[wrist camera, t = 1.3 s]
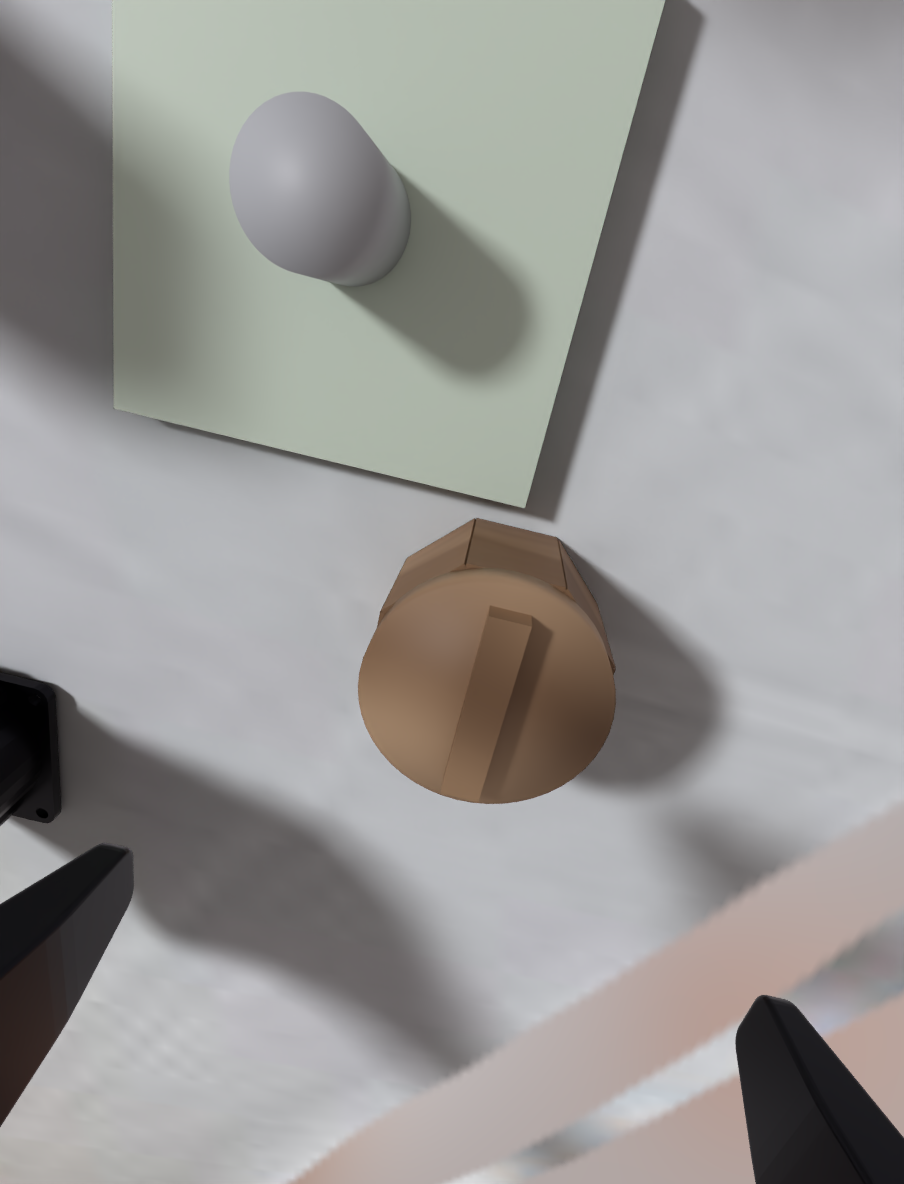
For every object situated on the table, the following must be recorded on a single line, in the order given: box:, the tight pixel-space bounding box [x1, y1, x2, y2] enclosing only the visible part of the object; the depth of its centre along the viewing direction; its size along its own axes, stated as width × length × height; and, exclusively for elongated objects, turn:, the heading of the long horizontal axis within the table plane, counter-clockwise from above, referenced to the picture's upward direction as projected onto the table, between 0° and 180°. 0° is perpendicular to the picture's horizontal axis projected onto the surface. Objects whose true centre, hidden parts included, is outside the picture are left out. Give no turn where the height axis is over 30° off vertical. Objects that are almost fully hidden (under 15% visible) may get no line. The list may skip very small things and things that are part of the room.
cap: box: [358, 518, 616, 804], centre depth 17 cm, size 6×6×6 cm
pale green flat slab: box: [112, 0, 665, 508], centre depth 14 cm, size 12×12×4 cm
